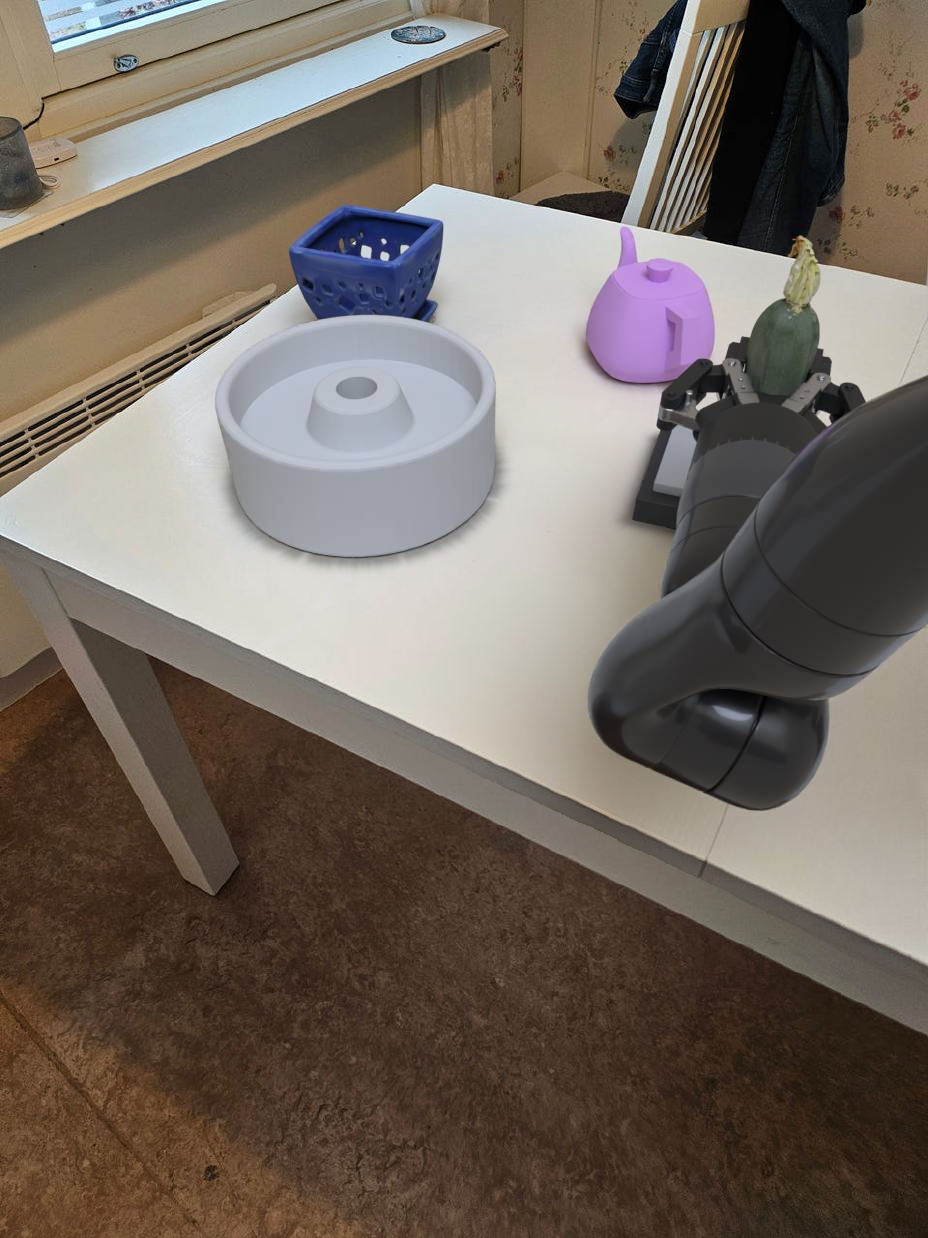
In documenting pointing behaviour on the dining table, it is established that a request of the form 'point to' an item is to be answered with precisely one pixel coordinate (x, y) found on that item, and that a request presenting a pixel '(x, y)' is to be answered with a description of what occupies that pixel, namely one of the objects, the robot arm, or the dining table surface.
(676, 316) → the teapot
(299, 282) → the flower pot
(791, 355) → the vegetable
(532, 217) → the dining table surface
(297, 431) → the container
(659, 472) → the scale
